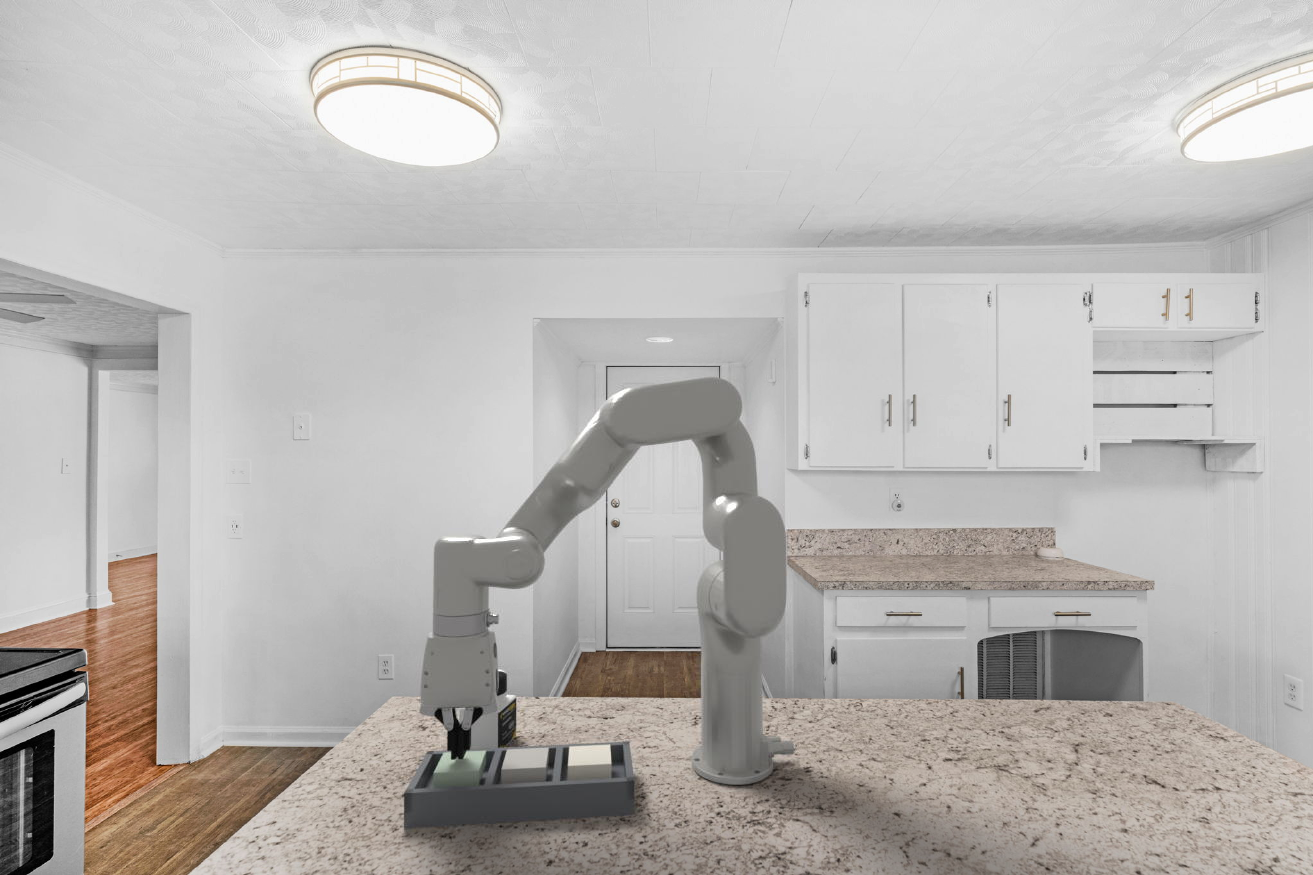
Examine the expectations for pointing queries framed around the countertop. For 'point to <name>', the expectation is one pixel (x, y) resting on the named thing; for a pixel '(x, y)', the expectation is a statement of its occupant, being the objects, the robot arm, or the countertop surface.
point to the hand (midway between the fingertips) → (459, 754)
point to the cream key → (589, 762)
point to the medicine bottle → (495, 720)
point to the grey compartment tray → (520, 792)
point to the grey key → (525, 765)
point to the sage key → (460, 770)
